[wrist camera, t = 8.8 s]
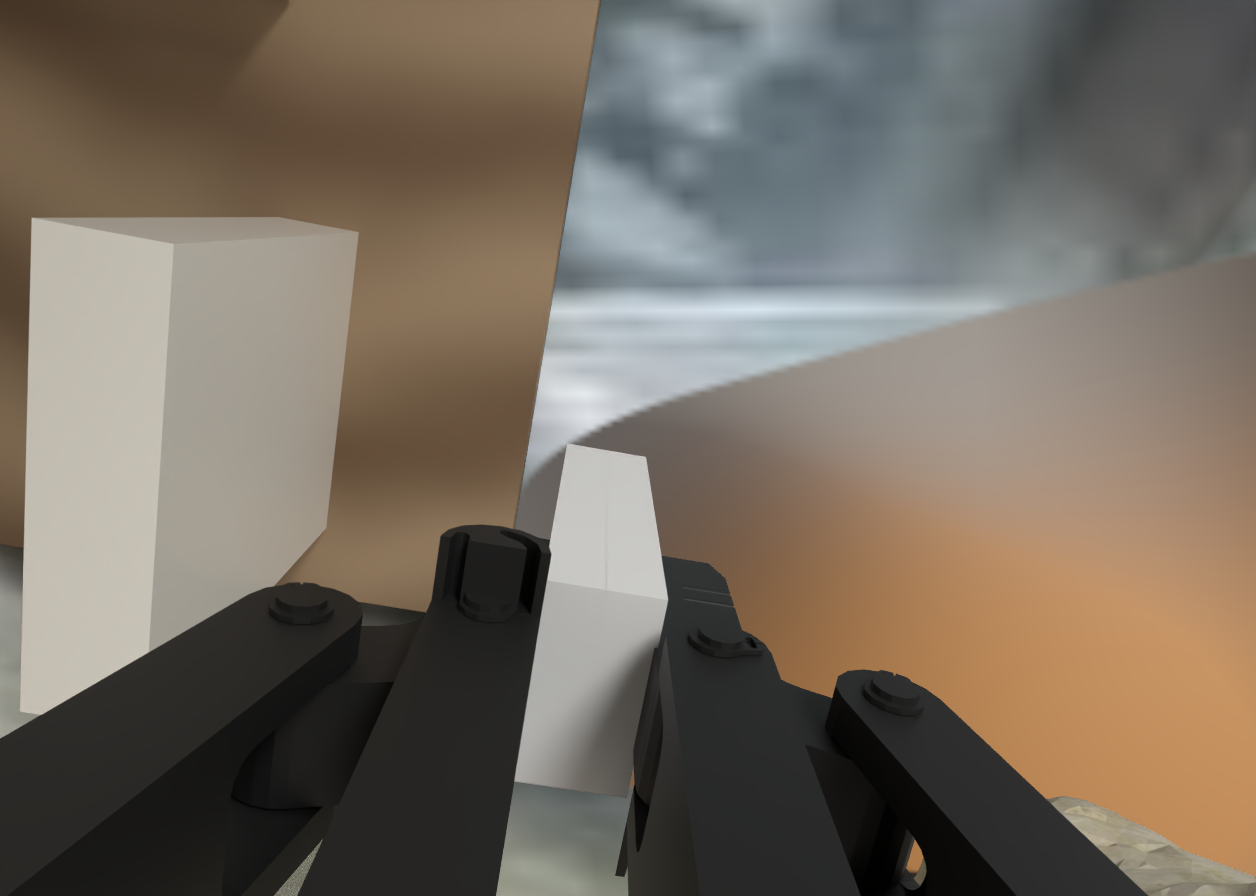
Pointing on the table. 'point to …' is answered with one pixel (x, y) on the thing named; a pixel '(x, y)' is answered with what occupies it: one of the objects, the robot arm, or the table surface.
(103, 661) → the tile
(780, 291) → the table surface
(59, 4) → the board
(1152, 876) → the bowl
